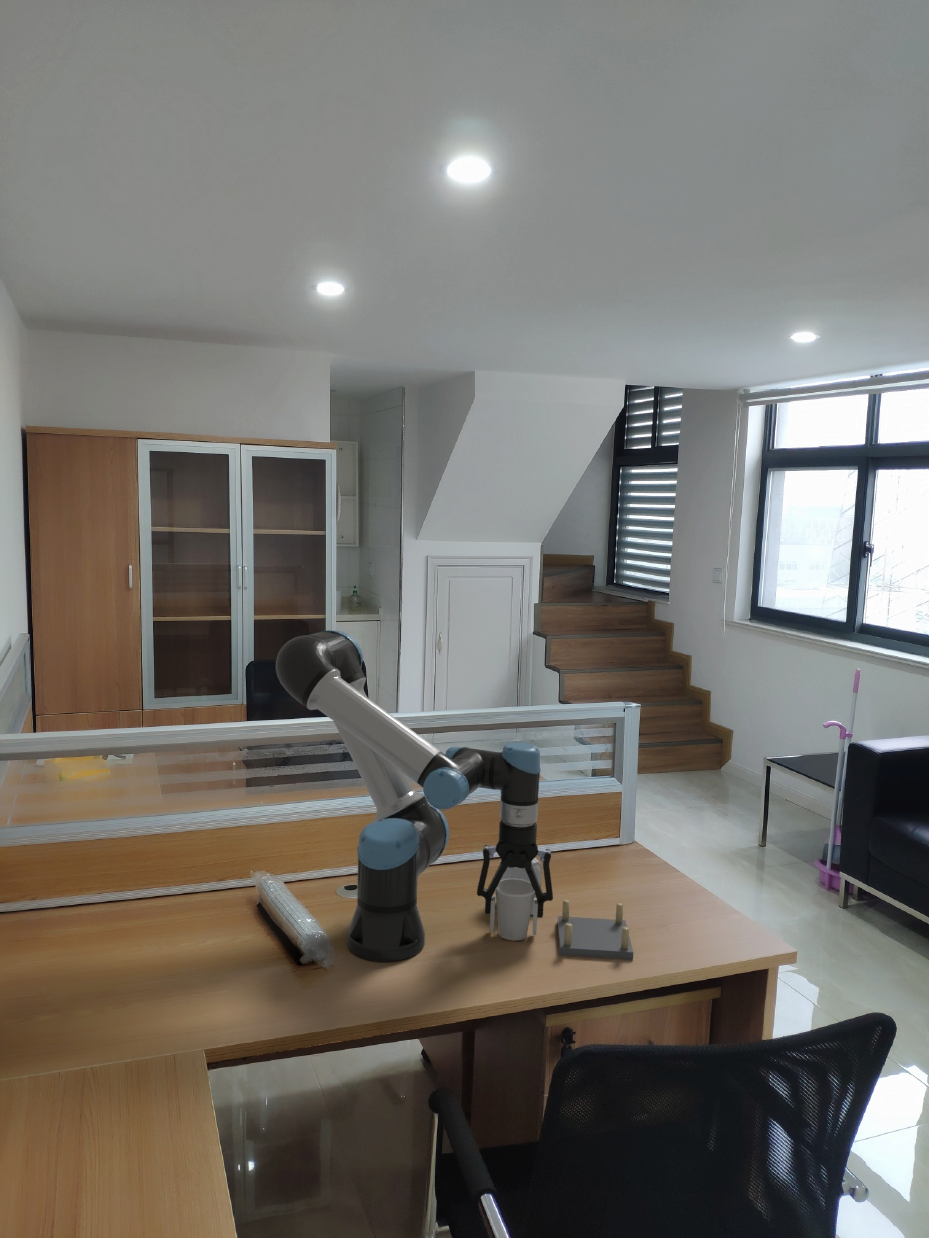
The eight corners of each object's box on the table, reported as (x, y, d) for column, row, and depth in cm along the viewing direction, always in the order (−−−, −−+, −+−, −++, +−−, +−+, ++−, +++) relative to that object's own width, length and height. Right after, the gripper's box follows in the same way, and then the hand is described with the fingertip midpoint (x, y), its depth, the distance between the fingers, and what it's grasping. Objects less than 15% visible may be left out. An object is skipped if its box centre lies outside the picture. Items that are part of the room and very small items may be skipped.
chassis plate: (559, 954, 170) (561, 927, 170) (557, 922, 184) (558, 897, 184) (632, 959, 169) (634, 932, 169) (625, 927, 183) (626, 901, 183)
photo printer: (496, 900, 194) (498, 846, 193) (511, 896, 197) (513, 842, 196) (528, 917, 186) (531, 861, 185) (543, 912, 189) (545, 856, 188)
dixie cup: (535, 944, 174) (537, 895, 173) (492, 942, 174) (495, 894, 173) (532, 925, 182) (534, 878, 181) (491, 923, 182) (494, 877, 181)
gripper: (465, 824, 172) (460, 935, 175) (571, 830, 171) (565, 942, 173) (467, 811, 180) (463, 918, 182) (569, 818, 179) (563, 925, 181)
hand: (513, 930), depth 178 cm, fingers closed on dixie cup, 8 cm apart
